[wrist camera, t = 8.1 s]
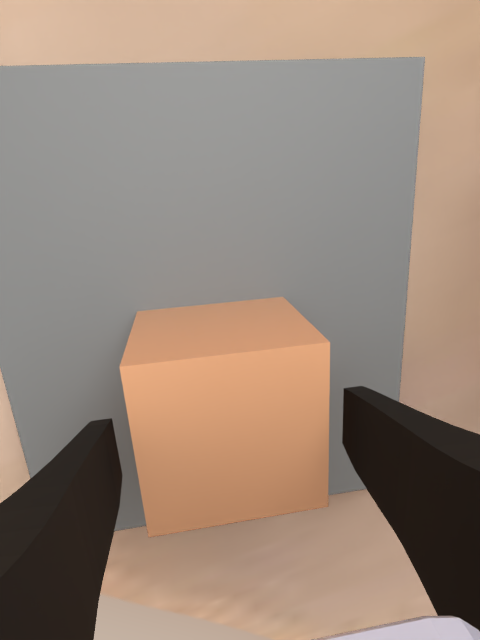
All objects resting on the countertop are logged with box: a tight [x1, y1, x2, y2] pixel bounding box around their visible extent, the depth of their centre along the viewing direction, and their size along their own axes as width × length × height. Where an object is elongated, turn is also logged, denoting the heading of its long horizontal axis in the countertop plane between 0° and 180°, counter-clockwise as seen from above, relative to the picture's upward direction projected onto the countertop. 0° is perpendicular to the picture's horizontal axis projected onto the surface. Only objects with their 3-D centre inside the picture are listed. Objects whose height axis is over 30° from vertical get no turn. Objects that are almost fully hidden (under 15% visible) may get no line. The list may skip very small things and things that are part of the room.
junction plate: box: [0, 57, 425, 531], centre depth 14 cm, size 16×18×5 cm
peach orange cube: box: [119, 297, 330, 537], centre depth 14 cm, size 6×6×5 cm
